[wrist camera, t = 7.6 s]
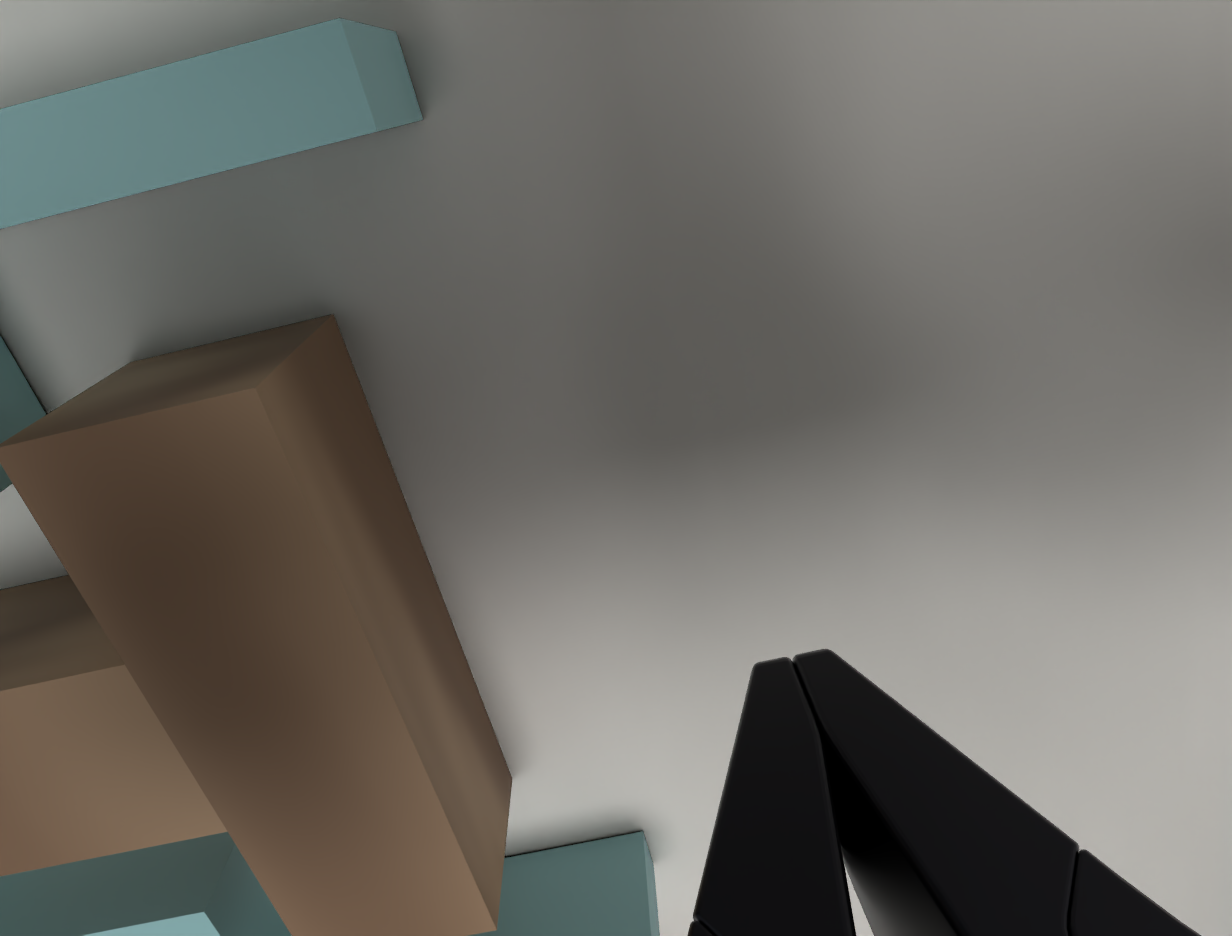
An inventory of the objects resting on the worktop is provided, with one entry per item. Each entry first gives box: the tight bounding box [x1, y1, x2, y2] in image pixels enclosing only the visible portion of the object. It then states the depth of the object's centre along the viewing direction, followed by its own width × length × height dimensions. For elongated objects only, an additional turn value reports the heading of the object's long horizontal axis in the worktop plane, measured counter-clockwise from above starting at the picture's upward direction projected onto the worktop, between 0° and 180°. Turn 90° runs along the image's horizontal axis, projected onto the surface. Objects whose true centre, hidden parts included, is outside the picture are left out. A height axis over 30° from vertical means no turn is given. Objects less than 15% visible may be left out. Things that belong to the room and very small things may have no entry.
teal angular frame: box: [0, 18, 660, 936], centre depth 12 cm, size 14×15×2 cm
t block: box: [0, 314, 512, 936], centre depth 12 cm, size 9×9×3 cm
